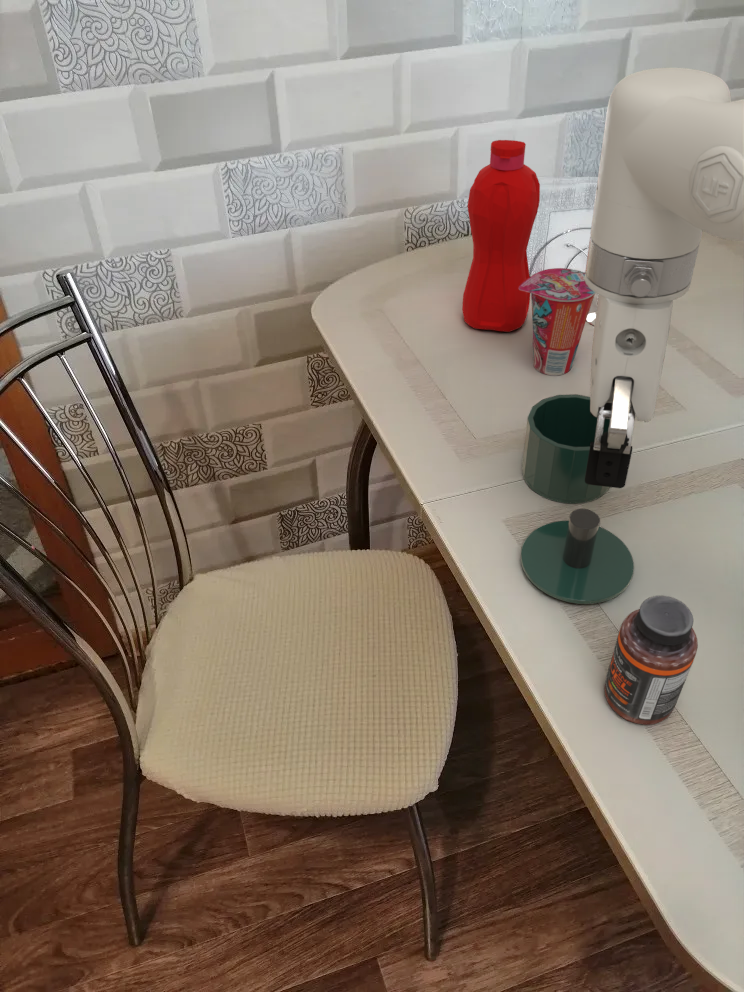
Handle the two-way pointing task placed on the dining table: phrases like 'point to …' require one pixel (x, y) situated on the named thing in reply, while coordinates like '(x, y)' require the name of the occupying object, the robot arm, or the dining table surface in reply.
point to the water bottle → (500, 239)
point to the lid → (577, 560)
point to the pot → (561, 449)
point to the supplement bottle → (651, 660)
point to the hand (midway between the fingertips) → (606, 448)
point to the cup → (557, 317)
